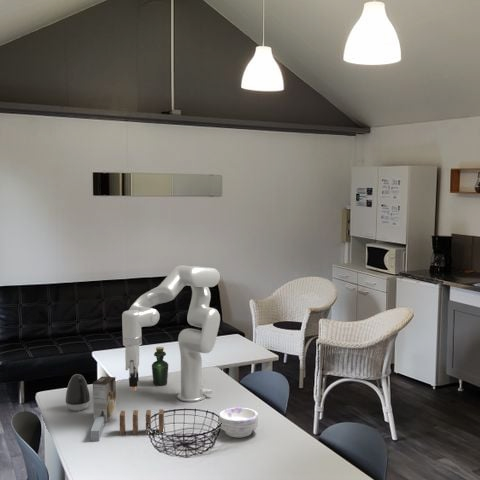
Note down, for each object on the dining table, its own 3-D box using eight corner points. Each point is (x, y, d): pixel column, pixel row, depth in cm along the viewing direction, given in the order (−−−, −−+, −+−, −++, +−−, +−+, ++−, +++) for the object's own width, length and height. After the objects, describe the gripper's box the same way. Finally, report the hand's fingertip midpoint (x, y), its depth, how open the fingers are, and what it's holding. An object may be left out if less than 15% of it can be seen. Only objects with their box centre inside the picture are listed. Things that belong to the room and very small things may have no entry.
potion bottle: (161, 388, 289) (160, 351, 287) (148, 385, 293) (147, 348, 292) (172, 383, 296) (171, 347, 294) (159, 380, 300) (158, 345, 299)
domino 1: (125, 430, 238) (125, 410, 238) (124, 435, 234) (123, 415, 233) (121, 430, 238) (120, 410, 238) (119, 435, 233) (119, 415, 233)
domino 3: (138, 429, 239) (137, 410, 238) (137, 435, 234) (136, 414, 233) (134, 430, 239) (133, 410, 238) (132, 435, 234) (132, 415, 233)
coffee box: (102, 412, 257) (101, 375, 256) (116, 413, 256) (116, 376, 254) (93, 420, 248) (92, 382, 247) (107, 422, 247) (107, 383, 246)
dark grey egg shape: (72, 415, 255) (71, 379, 253) (61, 408, 262) (60, 374, 261) (94, 409, 261) (93, 374, 260) (83, 402, 269) (82, 369, 268)
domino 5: (163, 429, 240) (163, 409, 239) (163, 434, 235) (162, 414, 234) (159, 429, 240) (159, 409, 239) (159, 434, 235) (158, 414, 234)
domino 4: (150, 429, 239) (150, 409, 239) (150, 434, 234) (149, 414, 234) (146, 429, 239) (146, 409, 238) (146, 434, 234) (145, 414, 234)
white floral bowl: (238, 422, 247) (238, 403, 246) (266, 433, 236) (266, 413, 235) (210, 433, 236) (210, 413, 235) (238, 444, 225) (238, 424, 224)
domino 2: (136, 386, 251) (135, 367, 250) (135, 390, 246) (134, 371, 245) (132, 386, 251) (132, 367, 250) (131, 390, 246) (130, 371, 245)
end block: (104, 426, 242) (103, 416, 242) (98, 441, 228) (98, 430, 228) (96, 426, 242) (96, 417, 242) (90, 441, 228) (90, 431, 228)
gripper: (125, 335, 254) (126, 377, 256) (120, 347, 238) (122, 391, 240) (143, 335, 255) (144, 376, 257) (140, 346, 238) (141, 391, 240)
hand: (134, 383), depth 248 cm, fingers closed on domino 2, 4 cm apart
